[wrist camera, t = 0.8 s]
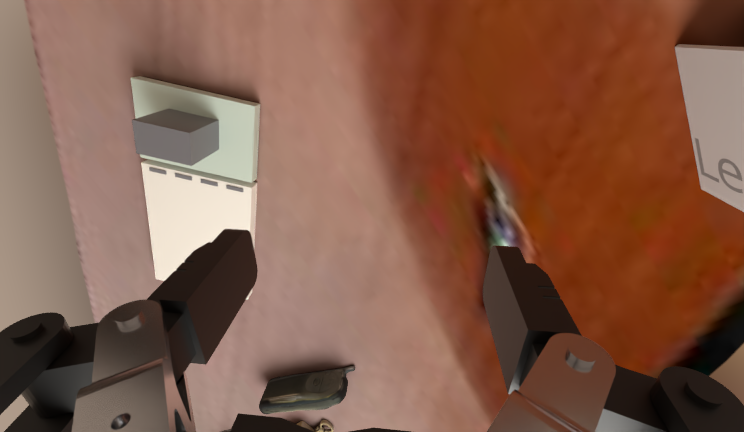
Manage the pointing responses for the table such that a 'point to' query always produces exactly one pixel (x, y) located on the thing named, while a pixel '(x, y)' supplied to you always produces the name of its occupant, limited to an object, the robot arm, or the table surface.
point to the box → (319, 429)
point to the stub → (196, 129)
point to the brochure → (716, 116)
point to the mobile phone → (305, 391)
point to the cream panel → (192, 211)
